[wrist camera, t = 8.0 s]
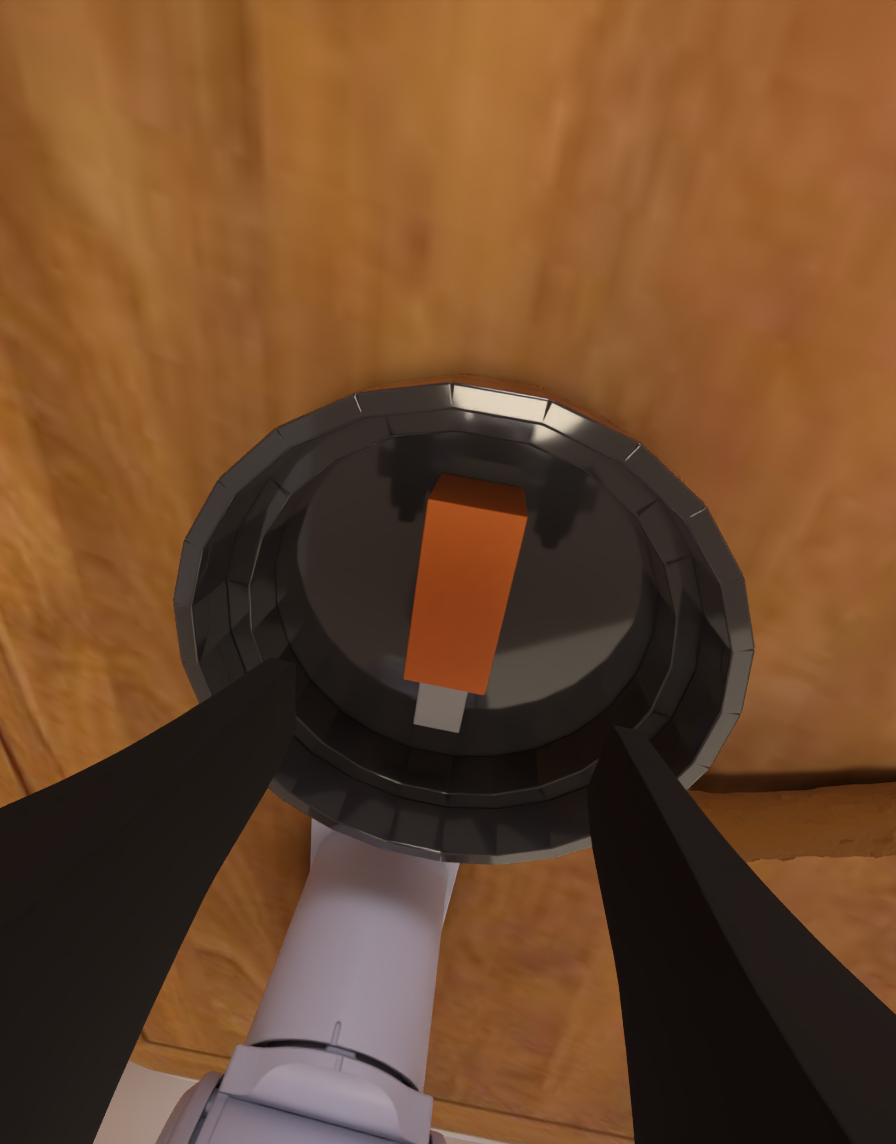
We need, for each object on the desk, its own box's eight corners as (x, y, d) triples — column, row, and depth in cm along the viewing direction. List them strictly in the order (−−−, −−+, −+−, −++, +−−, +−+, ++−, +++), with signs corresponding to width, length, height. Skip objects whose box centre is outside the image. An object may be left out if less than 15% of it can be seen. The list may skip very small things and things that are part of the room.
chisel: (441, 472, 15) (427, 498, 13) (524, 487, 15) (527, 516, 13) (406, 714, 20) (390, 770, 17) (469, 726, 20) (463, 785, 17)
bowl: (609, 800, 22) (632, 903, 18) (255, 728, 22) (200, 811, 18) (781, 426, 14) (891, 457, 10) (236, 333, 15) (134, 326, 11)
